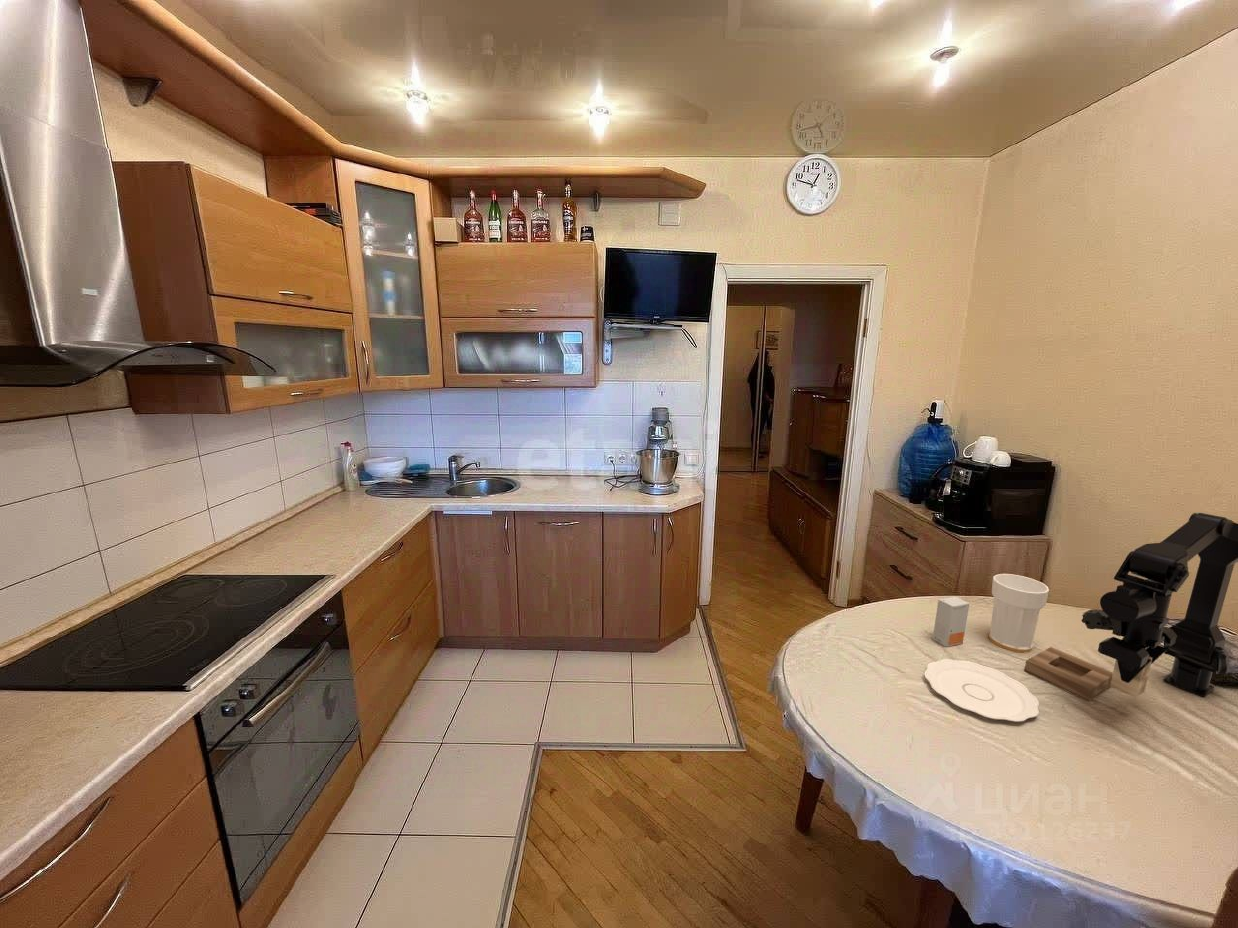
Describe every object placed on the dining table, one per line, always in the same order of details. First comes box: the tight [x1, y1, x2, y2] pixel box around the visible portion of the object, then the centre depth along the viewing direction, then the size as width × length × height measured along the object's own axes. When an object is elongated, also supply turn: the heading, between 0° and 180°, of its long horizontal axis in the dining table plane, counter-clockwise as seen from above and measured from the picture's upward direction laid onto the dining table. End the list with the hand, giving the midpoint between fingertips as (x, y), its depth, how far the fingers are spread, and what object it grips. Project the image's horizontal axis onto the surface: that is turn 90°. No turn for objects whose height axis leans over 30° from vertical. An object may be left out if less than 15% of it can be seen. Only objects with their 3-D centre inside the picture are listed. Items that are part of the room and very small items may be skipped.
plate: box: [923, 658, 1040, 723], centre depth 109 cm, size 21×21×2 cm
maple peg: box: [1109, 657, 1152, 699], centre depth 100 cm, size 4×4×8 cm
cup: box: [988, 573, 1050, 653], centre depth 126 cm, size 11×11×17 cm
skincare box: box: [932, 596, 970, 648], centre depth 128 cm, size 6×4×12 cm
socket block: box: [1024, 646, 1113, 702], centre depth 113 cm, size 12×12×3 cm
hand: (1129, 678), depth 100 cm, fingers closed on maple peg, 4 cm apart
